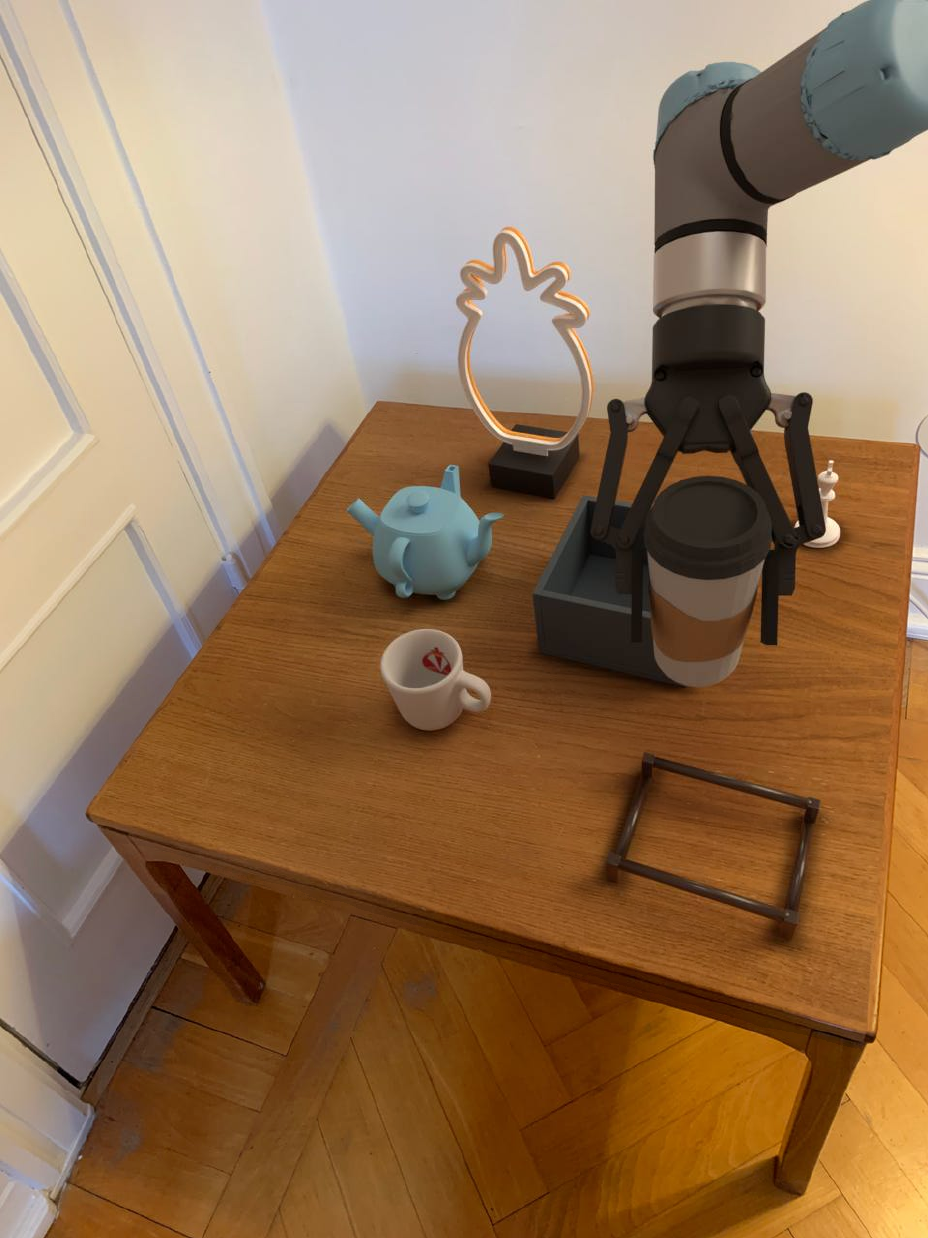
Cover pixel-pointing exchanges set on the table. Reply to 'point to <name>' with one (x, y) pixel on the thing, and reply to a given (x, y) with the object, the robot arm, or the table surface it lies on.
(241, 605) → the table surface
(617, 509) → the grey open box
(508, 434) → the lamp
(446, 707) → the cup
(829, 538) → the chess piece
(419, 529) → the teapot
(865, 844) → the table surface
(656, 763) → the rectangular rod frame
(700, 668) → the coffee cup
